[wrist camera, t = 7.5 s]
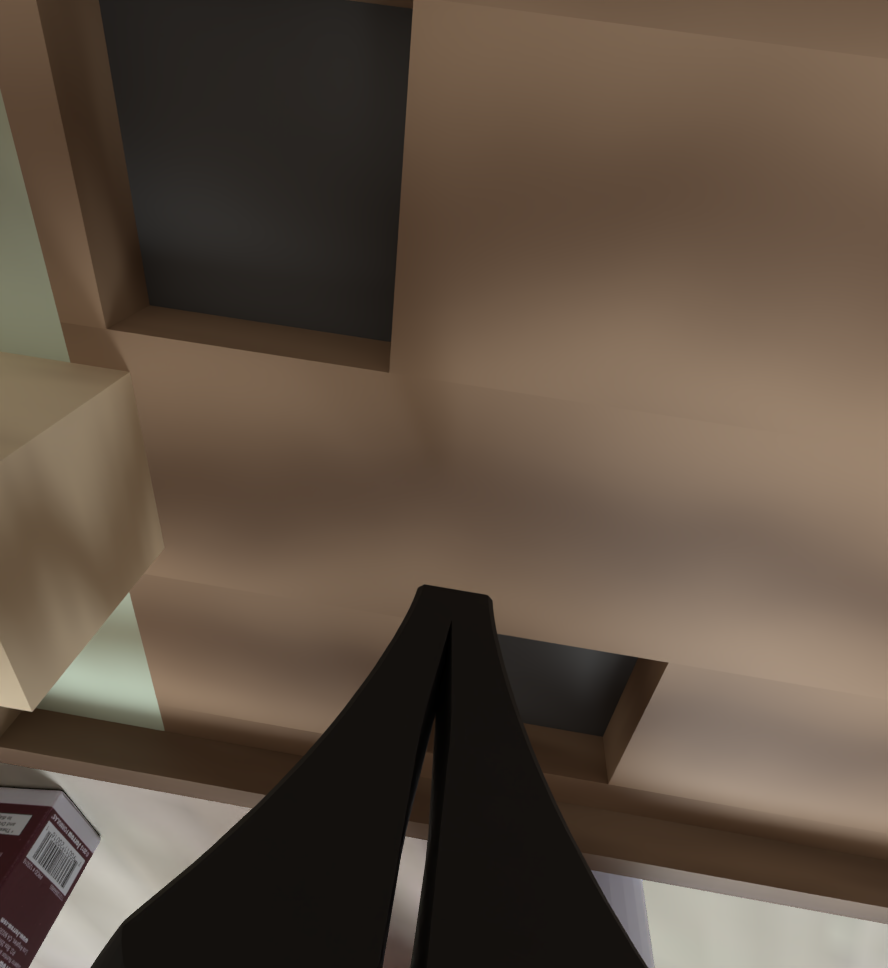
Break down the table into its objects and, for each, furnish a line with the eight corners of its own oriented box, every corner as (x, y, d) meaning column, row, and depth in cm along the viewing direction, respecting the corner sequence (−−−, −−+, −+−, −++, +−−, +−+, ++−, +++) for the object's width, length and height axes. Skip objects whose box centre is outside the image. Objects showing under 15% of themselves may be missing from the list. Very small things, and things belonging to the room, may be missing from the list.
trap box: (881, 821, 22) (936, 933, 19) (44, 673, 23) (-26, 757, 20) (1773, -37, 8) (2443, -109, 5) (-350, -290, 9) (-741, -463, 7)
